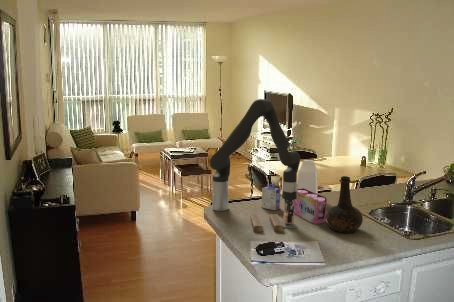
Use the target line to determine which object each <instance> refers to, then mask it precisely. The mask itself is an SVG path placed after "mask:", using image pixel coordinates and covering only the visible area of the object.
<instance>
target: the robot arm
mask: <svg viewBox="0 0 454 302" xmlns="http://www.w3.org/2000/svg"><path fill="white" fill-rule="evenodd" d="M274 107H275V106H274V105H273V102H272V101H270V100H269V99H265V98H258V99H255V100H253V102H252V103H251V105H250V106H249V108H248V109H247V111H246V113H245V114H244V116H243V117H242V119H241V120H240V121H239V122H238V124H237V125H236V127H234V129H233V130H232V131H231V132H230V134H229V135H228V137H227V138H226V140H225V141H224V142H223V144H222V145H221V146H220V147H219V149H217V151H216V152H215V153H213V155H212V156H210V160H209V166H210V168H211V169H212V170H215V172H214V174H213V175H212V211H217V212H222V211H223V212H224V211H227V210H228V209H229V177H230V176H231V175H230V173H231V158H230V156H231V155H232V154H234V153H235V152H236V151H237V150H239V149H240V148H241V147H242V146H244V144H245V143H246V142H247V141H248V139H249V138H250V136H251V134H252V129H253V126H254V124H255V123H256V122H257V121H258V120H259V119H260V118H261V117H263V118H264V119H265V120H266V122H267V124H268V127H269V131H270V136H271V137H270V138H271V140H272V141H273V144H274V145H275V146H276V149H277V153H278V157H279V161H280V163H281V164H282V165H283V166H285V167H286V169H285V170H284V171H283V173H282V185H281V186H282V187H281V192H282V193H281V198H282V199H283V200H284V213H287V222H288V223H291V222H292V216H293V215H294V213H293V212H294V206H293V205H294V203H293V200H295V199H296V198H297V187H298V175H297V174H298V172H299V169H300V164H301V157H300V154H299V153H298V152H297V151H296V150H295V151H294V150H291V151H289V148H290V145H291V144H290V142H289V139H288V138H287V136H286V133H285V132H284V130H283V128H282V126H281V124H280V121H279V118H278V115H277V114H276V110H275V108H274ZM290 212H291V214H290Z"/></svg>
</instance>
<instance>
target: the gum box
mask: <svg viewBox="0 0 454 302" xmlns="http://www.w3.org/2000/svg"><path fill="white" fill-rule="evenodd" d="M292 201H293V203H294V205H293V206H294V212H293V214H294V215H297V216H299V217H301V218H302V219H304V220H307V221H308V222H310V223H313V224H314V225H317V224H323V223H327V219H326V215H327V212H328V206H327V205H328V198H327V197H325V196H323V195H322V194H316V193H314V192H311V191H309V190H307V189H304V188H302V189H297V198H296V199H295V200H292Z"/></svg>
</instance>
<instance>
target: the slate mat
mask: <svg viewBox="0 0 454 302" xmlns="http://www.w3.org/2000/svg"><path fill="white" fill-rule="evenodd" d="M281 222H282V224H283V229H298V228H299V227H298V225H297V223H296V221H294V223H287V224H285V222H284V221H281Z"/></svg>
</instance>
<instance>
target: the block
mask: <svg viewBox="0 0 454 302" xmlns="http://www.w3.org/2000/svg"><path fill="white" fill-rule="evenodd" d="M290 214H291V212H290ZM283 222H285V224H287V223H288V222H287V213H286V212H283ZM294 222H295V214H293V216H292V222H291V223H294Z"/></svg>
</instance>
